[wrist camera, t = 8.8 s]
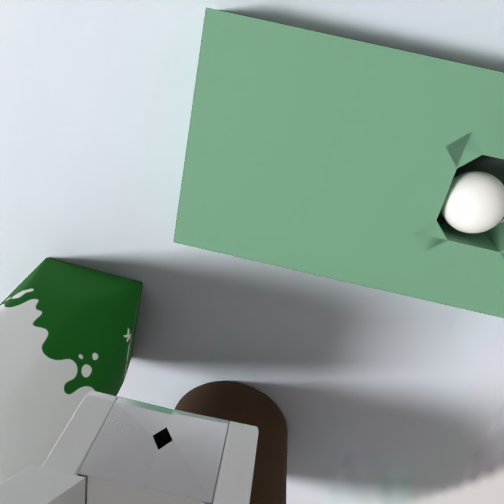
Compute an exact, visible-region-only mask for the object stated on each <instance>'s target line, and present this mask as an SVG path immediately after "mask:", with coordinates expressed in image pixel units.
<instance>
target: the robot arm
mask: <svg viewBox="0 0 504 504" xmlns="http://www.w3.org/2000/svg"><path fill="white" fill-rule="evenodd" d="M228 424H229V425H228ZM227 429H228V430H227ZM258 433H259V431H258V427H256V426H251V425H247V424H242V423H237V422H232V421H230V422H229V421H228V420H223V419H218V418H213V417H209V416H204V415H199V414H194V413H189V412H184V411H180V410H175V409H174V410H172V409H168V408H164V407H160V406H156V405H152V404H148V403H144V402H140V401H136V400H132V399H127V398H123V397H117V396H113V395H109V394H105V393H101V392H97V391H93V390H91V391H90V392H89V393H88V394H86V395H85V396H84V398H83V399H82V401H81V403H80V404H79V406H78V407H77V409H76V411H75V412H74V414H73V416H72V417H71V419H70V421H69V422H68V424H67V425H66V427H65V429H64V430H63V432H62V434H61V435H60V437H59V439H58V440H57V442H56V443H55V445H54V447H53V448H52V450H51V452H50V453H49V455H48V456H47V458H46V460H45V461H44V463H43V465H42V466H41V467H39V466H34V465H31V466H30V467H28V468H26V469H25V470H23V471H21V472H20V473H18V474H16V475H15V476H13V477H11V478H9V479H8V480H6V481H4V482H3V483H1V484H0V504H249V502H250V495H251V487H252V479H253V471H254V464H255V456H256V448H257V441H258ZM226 434H227V435H226ZM223 448H224V449H223ZM222 453H223V454H222ZM221 458H222V459H221Z"/></svg>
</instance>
